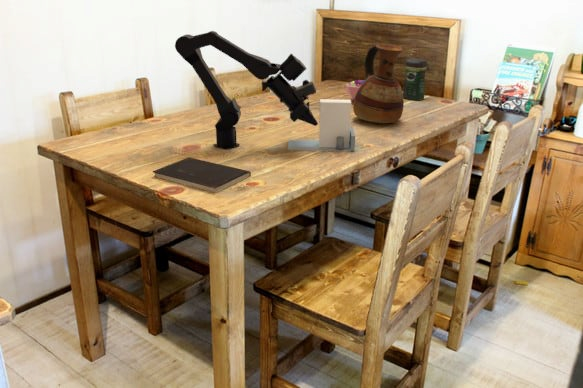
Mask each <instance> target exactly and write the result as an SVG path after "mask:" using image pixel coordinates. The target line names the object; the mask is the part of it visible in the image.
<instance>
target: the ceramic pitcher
mask: <svg viewBox="0 0 583 388" xmlns="http://www.w3.org/2000/svg"><path fill="white" fill-rule="evenodd" d="M402 52H403V48H402V47H401V46H400V45H395V44H393V43H391V44H390V43H382V42H381V43H378V44H374V45H373V46H371V47H370V48H369V49H368V51H367V53H366V57H365V61H364V70H365V81H364V82H363V83H362V85H361V86H360V88H359V89H358V91H357V93H356V95H355V99H353V104H352V109H353V113H354V114H355V116H356V117H357V118H358V119H360V120H362V121H365V122H369V123H373V124H374V123H375V124H390V123H391V124H392V123H395V122H398V121H399V120H400V119H401V118H402V115H403V111H404V105H405V104H404V103H405V102H404V98H403V90H402V87H401V85H400V83H399V81H397V79H396V78H395V76H394V67H395V64H396V60H397V58H398V56H399V55H400V54H401V53H402ZM377 53H378V55H379V61H378V67H377V70H376V71H374V61H375V57H376V55H377Z"/></svg>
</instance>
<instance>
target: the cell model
mask: <svg viewBox="0 0 583 388" xmlns="http://www.w3.org/2000/svg"><path fill="white" fill-rule="evenodd" d="M365 80H366V79H365ZM365 80H364V79H363V80H362V79H360V80H359V79H355V80H353V81H349V82H347V83H345V90H346V93H347V94H348V95H349V97H351V99H353V100H354V99H355V95H356V93H357V91H358V89H359V88H360V86H361V85H362V83H363V82H364V81H365Z"/></svg>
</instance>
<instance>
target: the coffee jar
mask: <svg viewBox="0 0 583 388" xmlns="http://www.w3.org/2000/svg"><path fill="white" fill-rule="evenodd" d="M404 69H405V78H404V85H403V86H404V87H403V90H402V93H403V99H407V100H410V101H411V100H412V101H421V100H424V98H425V77H426V76H425V75H426V71H427V69H428V61H427V60H426V59H422V58H417V57H416V58H414V57H411V58H407V59H406V62H405V66H404Z"/></svg>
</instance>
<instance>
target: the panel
mask: <svg viewBox="0 0 583 388" xmlns="http://www.w3.org/2000/svg"><path fill="white" fill-rule="evenodd" d="M351 114H352V100H351V99H327V98H326V99H322V98H320V99H319V121H318V122H319V123H318V128H319V129H318V140H319V147H336V140H337V137H338V136H342V137H344V147H349V140H350V126H351V118H352V115H351Z"/></svg>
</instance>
